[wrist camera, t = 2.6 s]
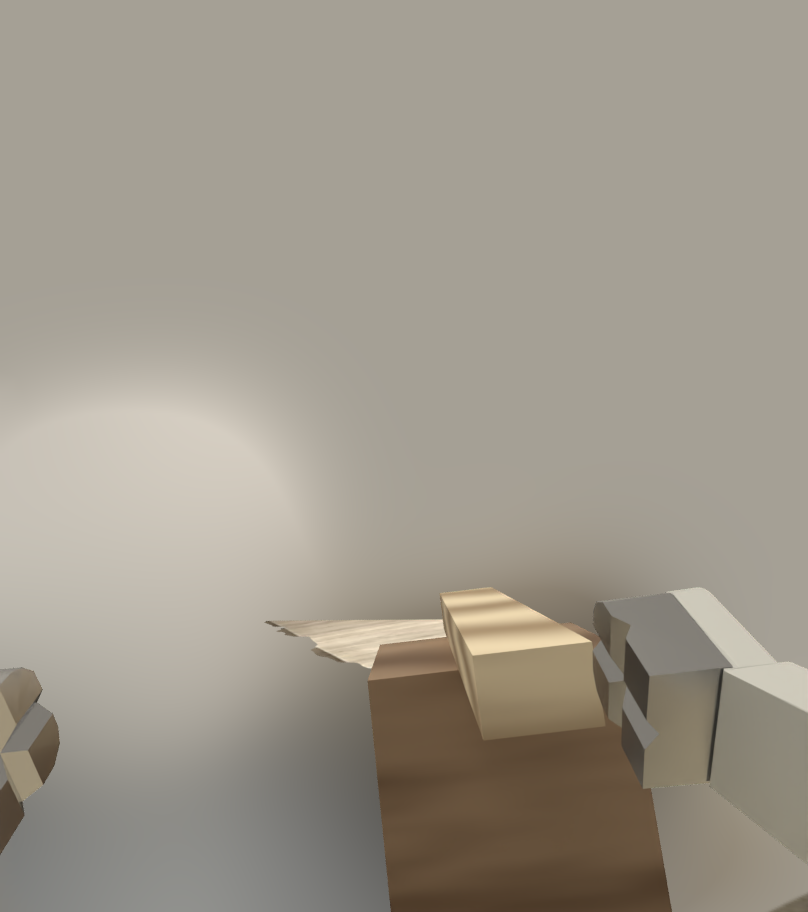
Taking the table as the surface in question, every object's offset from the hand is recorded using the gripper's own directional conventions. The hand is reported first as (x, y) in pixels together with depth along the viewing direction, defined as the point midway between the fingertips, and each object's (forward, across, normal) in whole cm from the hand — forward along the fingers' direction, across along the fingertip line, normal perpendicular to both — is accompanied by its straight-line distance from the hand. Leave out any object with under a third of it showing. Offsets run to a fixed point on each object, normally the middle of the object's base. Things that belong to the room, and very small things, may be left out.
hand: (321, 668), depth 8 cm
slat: (+12, +4, -11) cm, 17 cm away
